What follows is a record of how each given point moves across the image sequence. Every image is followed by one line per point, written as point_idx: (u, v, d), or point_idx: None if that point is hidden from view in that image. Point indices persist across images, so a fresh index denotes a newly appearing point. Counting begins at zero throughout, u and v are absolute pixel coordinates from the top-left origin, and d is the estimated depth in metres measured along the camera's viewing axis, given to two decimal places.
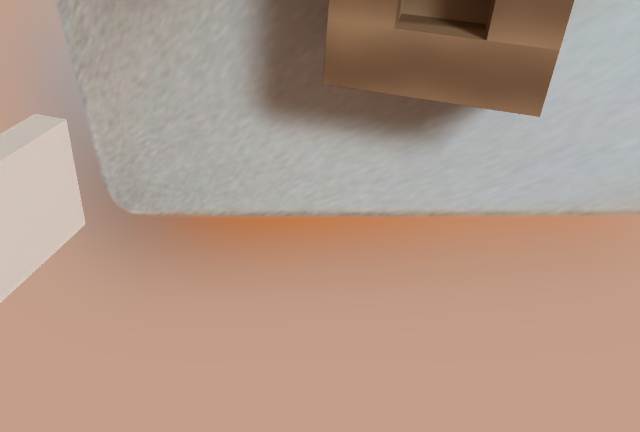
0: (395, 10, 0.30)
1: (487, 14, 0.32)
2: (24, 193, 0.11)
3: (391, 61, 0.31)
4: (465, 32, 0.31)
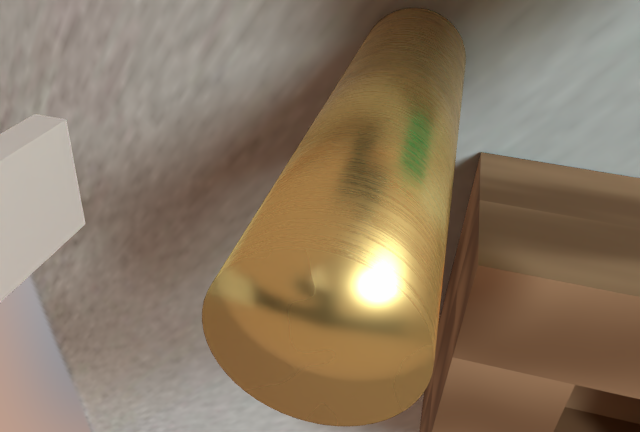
0: None
1: None
2: (24, 193, 0.11)
3: None
4: None
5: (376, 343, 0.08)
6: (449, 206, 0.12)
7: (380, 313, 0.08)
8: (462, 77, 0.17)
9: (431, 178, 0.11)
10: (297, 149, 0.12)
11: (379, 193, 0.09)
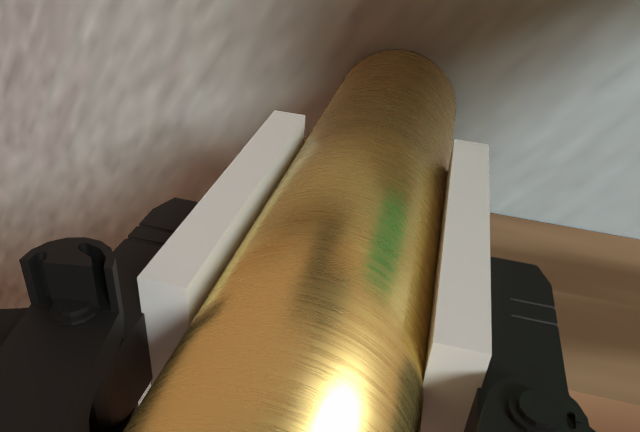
0: None
1: None
2: None
3: None
4: None
5: None
6: None
7: None
8: (451, 134, 0.15)
9: (403, 309, 0.08)
10: (234, 256, 0.09)
11: (324, 357, 0.07)
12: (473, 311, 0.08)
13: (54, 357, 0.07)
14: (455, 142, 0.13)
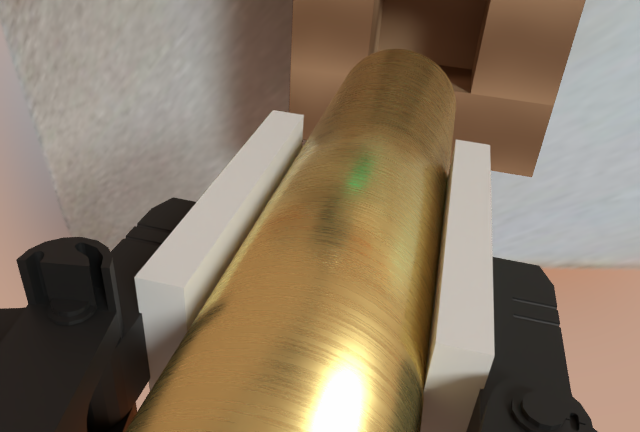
0: None
1: (472, 59, 0.28)
2: None
3: None
4: None
5: None
6: (430, 325, 0.09)
7: None
8: (451, 132, 0.15)
9: (405, 300, 0.08)
10: (239, 250, 0.09)
11: (330, 344, 0.07)
12: (476, 312, 0.08)
13: (51, 357, 0.07)
14: (456, 143, 0.13)
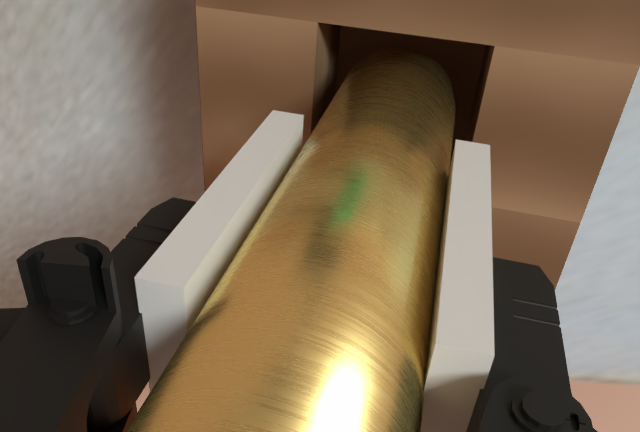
0: None
1: (463, 139, 0.20)
2: None
3: None
4: None
5: None
6: (431, 319, 0.09)
7: None
8: (451, 130, 0.15)
9: (406, 294, 0.08)
10: (243, 245, 0.10)
11: (333, 336, 0.07)
12: (476, 312, 0.08)
13: (51, 357, 0.07)
14: (456, 142, 0.13)
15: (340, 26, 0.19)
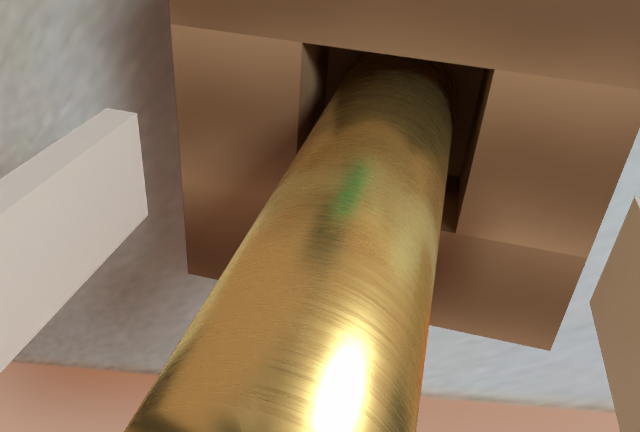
0: None
1: (461, 163, 0.19)
2: (102, 183, 0.12)
3: None
4: None
5: None
6: (430, 298, 0.10)
7: None
8: (451, 121, 0.16)
9: (406, 273, 0.09)
10: (252, 228, 0.10)
11: (338, 308, 0.07)
12: None
13: None
14: (638, 201, 0.11)
15: None
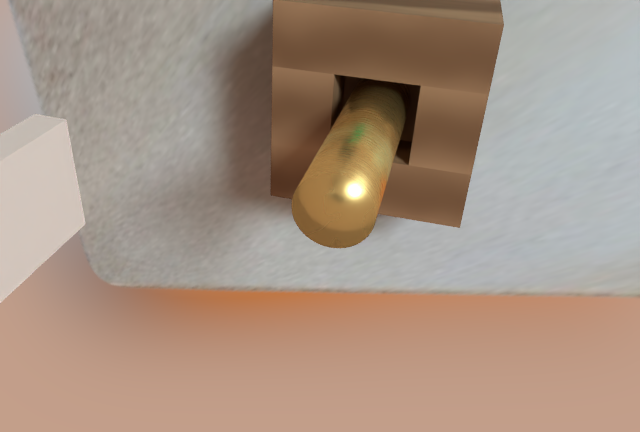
0: None
1: None
2: (24, 193, 0.11)
3: None
4: None
5: (355, 208, 0.24)
6: (388, 167, 0.27)
7: (356, 196, 0.23)
8: (405, 110, 0.33)
9: (378, 154, 0.26)
10: (322, 144, 0.27)
11: (356, 157, 0.25)
12: None
13: None
14: None
15: None
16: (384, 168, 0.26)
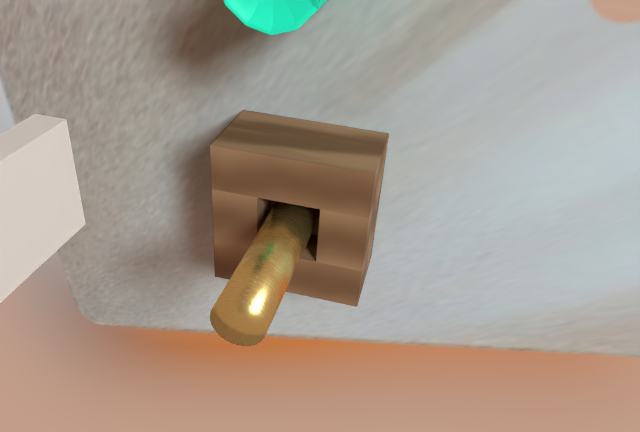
0: None
1: None
2: (24, 193, 0.11)
3: None
4: (305, 251, 0.45)
5: (252, 322, 0.34)
6: (284, 283, 0.38)
7: (252, 315, 0.34)
8: (312, 222, 0.44)
9: (275, 276, 0.37)
10: (239, 264, 0.38)
11: (256, 284, 0.35)
12: None
13: None
14: None
15: None
16: (279, 286, 0.37)
